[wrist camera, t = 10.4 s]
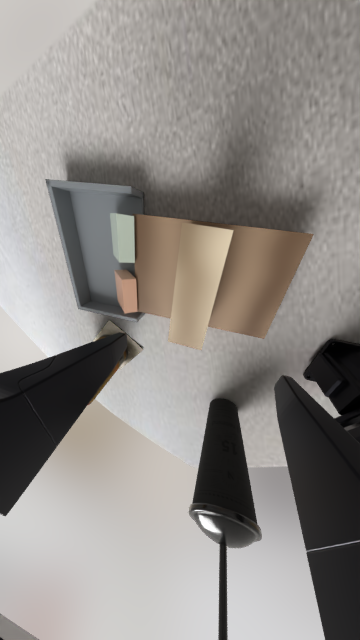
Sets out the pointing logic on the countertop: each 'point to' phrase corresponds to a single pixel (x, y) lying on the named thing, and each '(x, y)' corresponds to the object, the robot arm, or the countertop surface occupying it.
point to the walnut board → (237, 276)
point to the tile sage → (123, 237)
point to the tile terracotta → (126, 290)
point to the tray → (93, 240)
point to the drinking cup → (224, 492)
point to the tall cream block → (197, 282)
